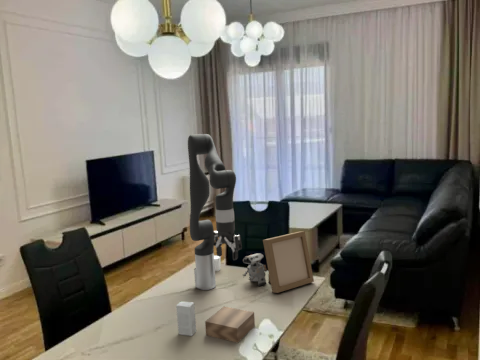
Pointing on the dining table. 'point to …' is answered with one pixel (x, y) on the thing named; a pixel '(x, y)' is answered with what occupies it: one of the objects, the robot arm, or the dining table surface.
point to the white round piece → (217, 262)
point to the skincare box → (186, 318)
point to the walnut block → (230, 324)
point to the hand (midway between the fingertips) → (227, 257)
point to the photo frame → (288, 261)
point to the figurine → (255, 268)
